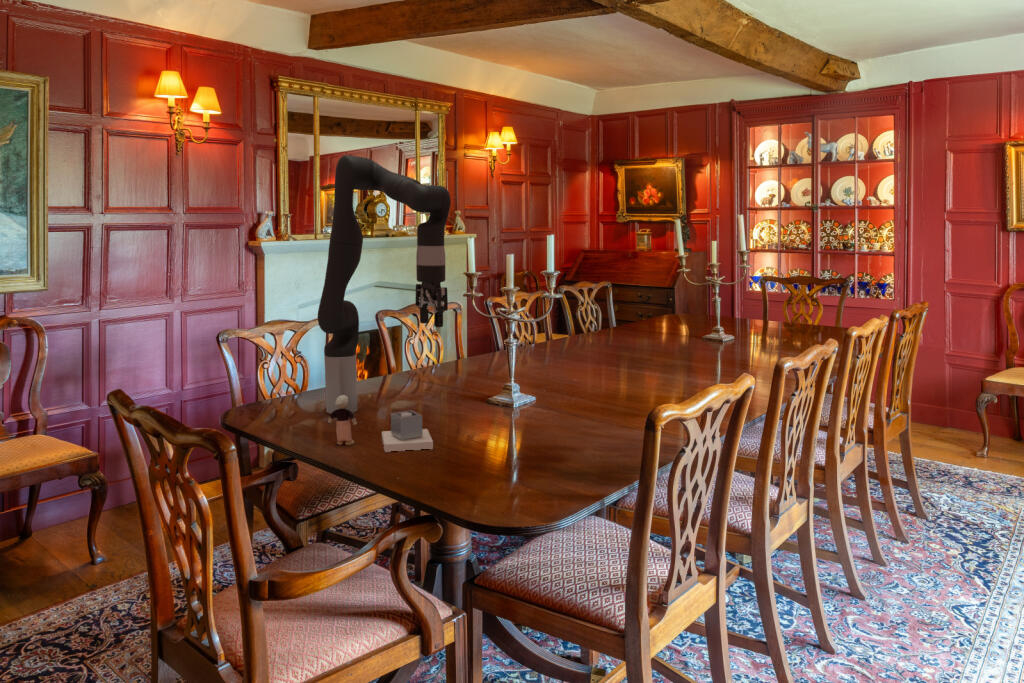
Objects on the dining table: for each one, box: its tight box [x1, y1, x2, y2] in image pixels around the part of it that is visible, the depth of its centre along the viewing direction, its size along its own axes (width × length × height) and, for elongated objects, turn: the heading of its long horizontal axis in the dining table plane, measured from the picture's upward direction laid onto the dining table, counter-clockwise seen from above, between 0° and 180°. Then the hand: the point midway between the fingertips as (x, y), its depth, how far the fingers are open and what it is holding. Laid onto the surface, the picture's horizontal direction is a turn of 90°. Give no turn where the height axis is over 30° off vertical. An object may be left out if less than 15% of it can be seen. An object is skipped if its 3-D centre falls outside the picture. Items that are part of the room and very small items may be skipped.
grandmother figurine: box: [327, 395, 358, 446], centre depth 194 cm, size 8×4×13 cm, turn 92°
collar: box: [390, 409, 423, 439], centre depth 194 cm, size 6×6×6 cm
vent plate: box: [381, 412, 434, 453], centre depth 194 cm, size 12×12×8 cm
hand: (431, 325), depth 199 cm, fingers open, 8 cm apart
